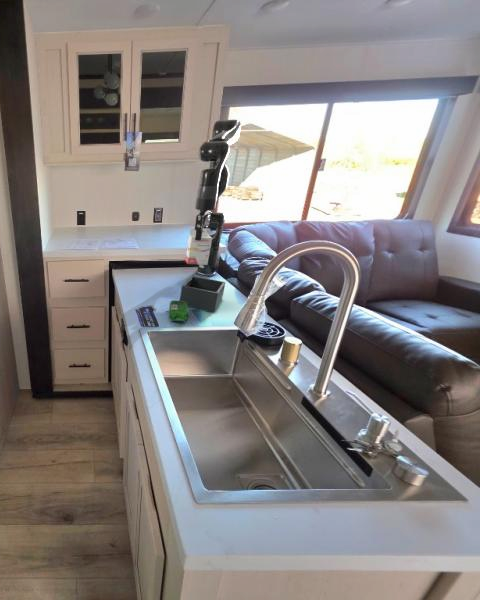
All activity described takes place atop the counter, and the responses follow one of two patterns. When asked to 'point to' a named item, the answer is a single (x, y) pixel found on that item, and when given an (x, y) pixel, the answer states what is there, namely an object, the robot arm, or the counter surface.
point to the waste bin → (202, 293)
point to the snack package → (178, 311)
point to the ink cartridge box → (198, 248)
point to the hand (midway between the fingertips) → (200, 238)
